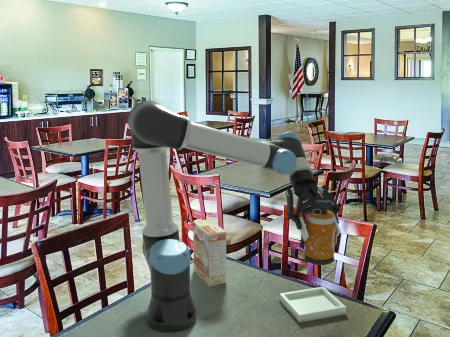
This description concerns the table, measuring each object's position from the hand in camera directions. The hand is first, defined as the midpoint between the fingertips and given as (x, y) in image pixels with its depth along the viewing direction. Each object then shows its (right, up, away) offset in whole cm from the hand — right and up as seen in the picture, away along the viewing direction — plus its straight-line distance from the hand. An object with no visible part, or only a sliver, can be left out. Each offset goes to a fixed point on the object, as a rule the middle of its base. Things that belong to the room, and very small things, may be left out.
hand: (322, 236), depth 139 cm
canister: (-1, -8, +5) cm, 10 cm away
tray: (-2, -24, +8) cm, 25 cm away
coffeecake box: (-35, -19, +29) cm, 49 cm away
